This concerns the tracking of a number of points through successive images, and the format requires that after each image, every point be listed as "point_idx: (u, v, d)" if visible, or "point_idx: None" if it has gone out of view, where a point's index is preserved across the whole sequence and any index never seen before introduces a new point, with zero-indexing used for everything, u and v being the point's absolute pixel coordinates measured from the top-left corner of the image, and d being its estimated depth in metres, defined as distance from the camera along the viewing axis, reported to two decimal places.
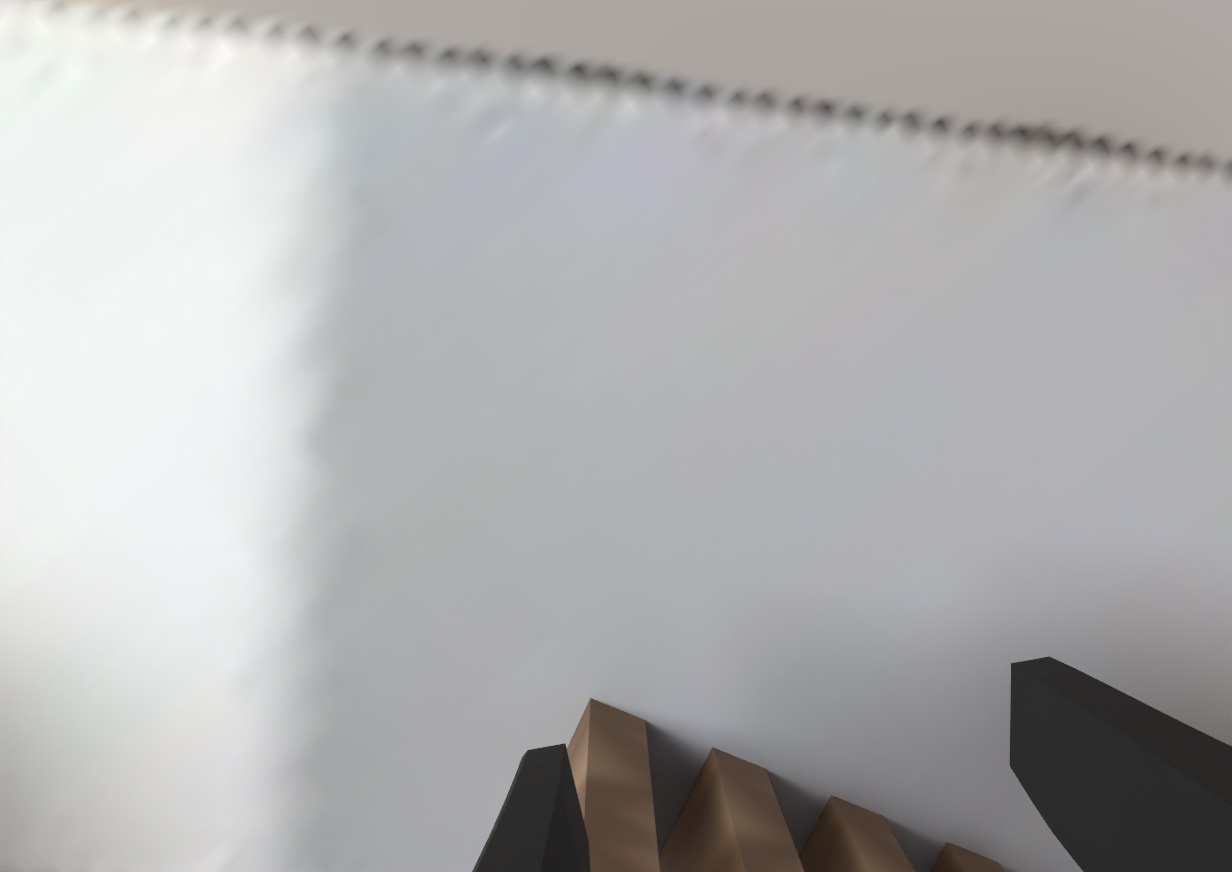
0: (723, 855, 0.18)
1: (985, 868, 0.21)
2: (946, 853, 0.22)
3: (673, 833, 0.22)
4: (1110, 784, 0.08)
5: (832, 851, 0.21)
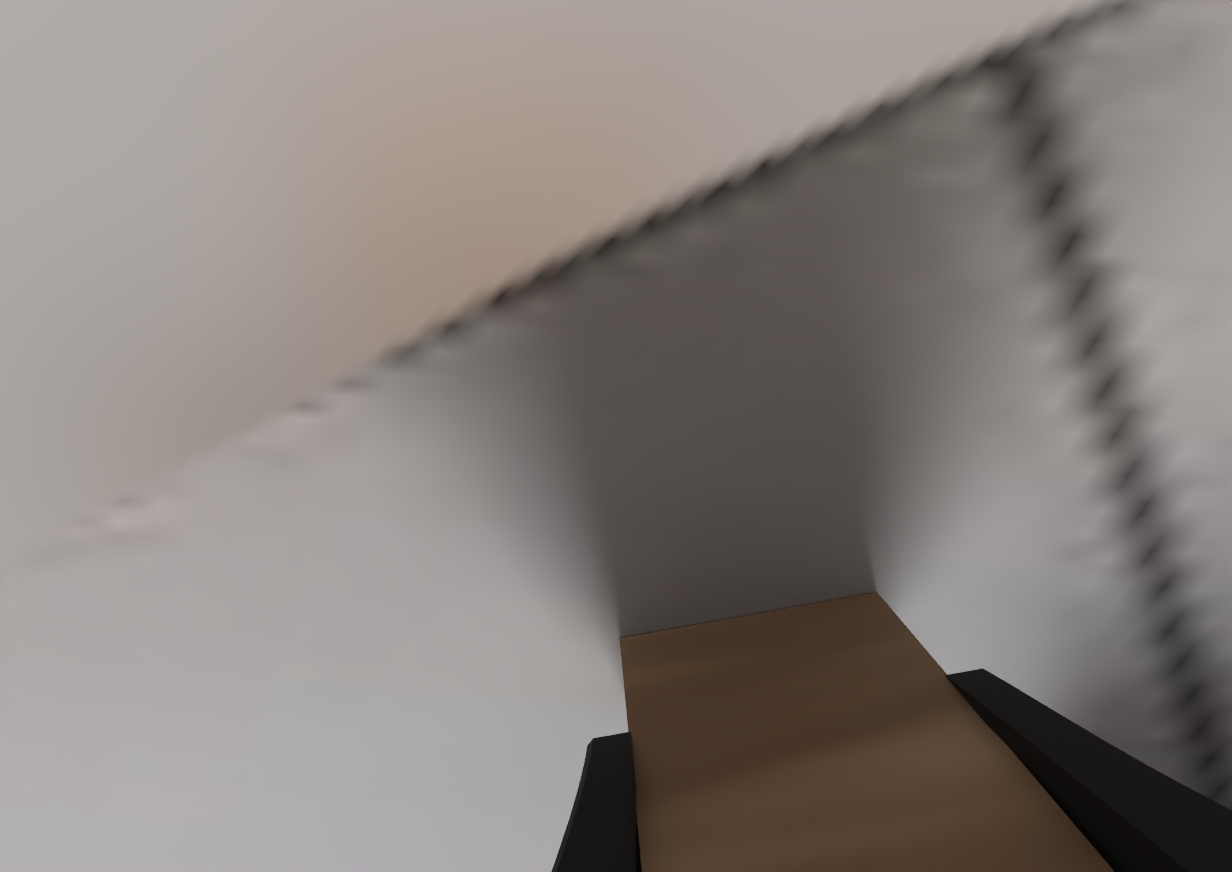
0: None
1: None
2: None
3: None
4: None
5: None
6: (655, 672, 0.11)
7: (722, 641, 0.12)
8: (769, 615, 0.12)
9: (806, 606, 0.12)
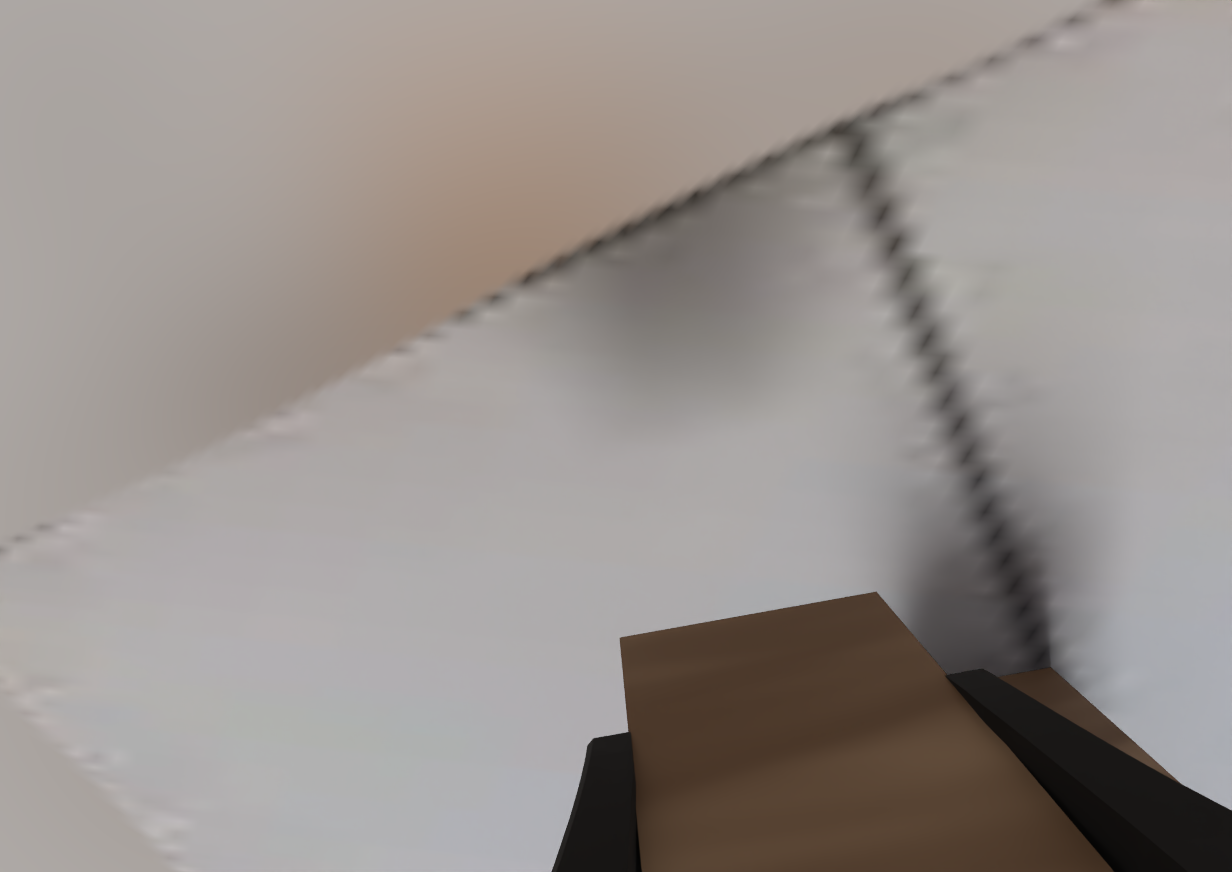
0: None
1: None
2: None
3: None
4: None
5: None
6: (655, 671, 0.11)
7: (722, 641, 0.12)
8: (769, 615, 0.12)
9: (806, 606, 0.12)
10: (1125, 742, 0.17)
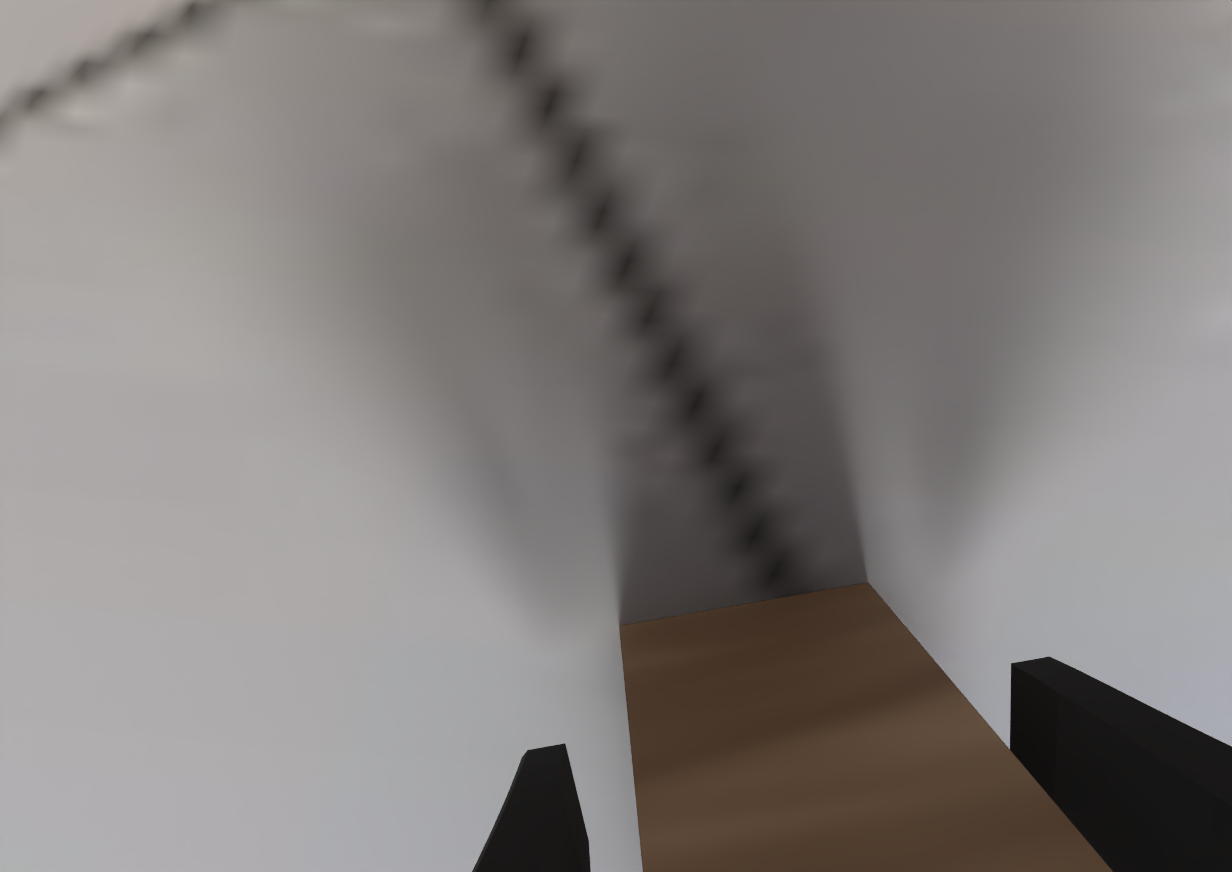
0: None
1: None
2: None
3: None
4: (1110, 784, 0.08)
5: None
6: (653, 657, 0.11)
7: (718, 629, 0.12)
8: (764, 604, 0.12)
9: (800, 596, 0.13)
10: None
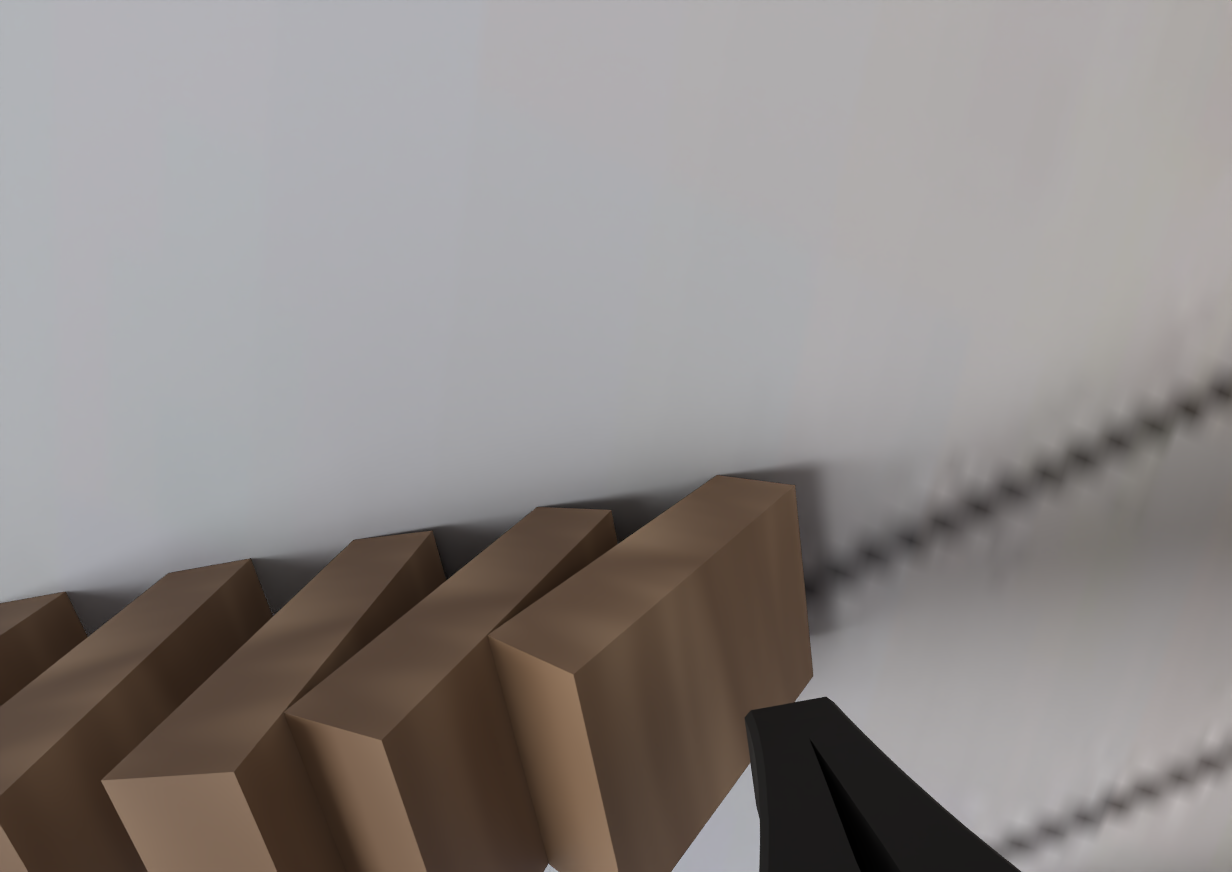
0: None
1: (562, 521, 0.14)
2: None
3: None
4: None
5: None
6: (771, 531, 0.13)
7: (788, 575, 0.14)
8: (803, 602, 0.15)
9: (807, 628, 0.15)
10: None
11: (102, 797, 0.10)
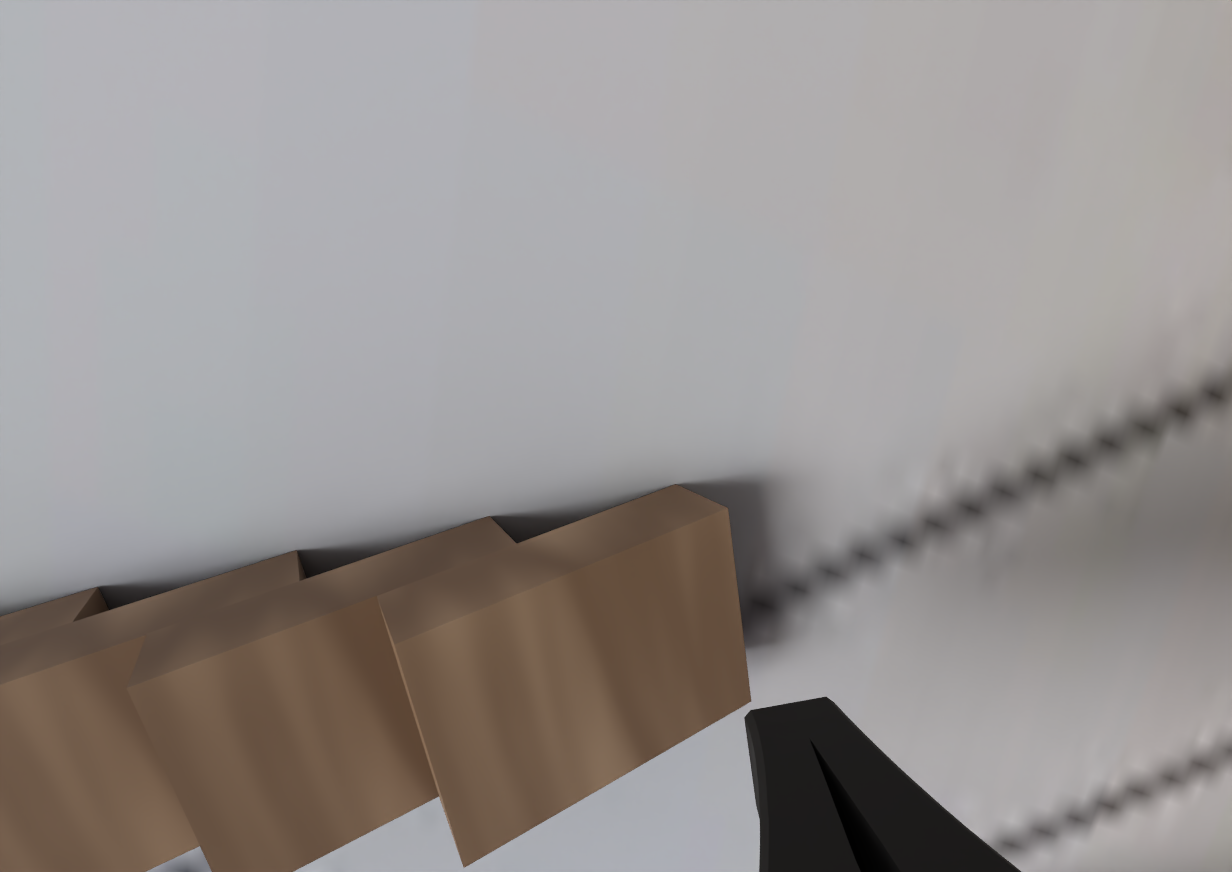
0: None
1: (475, 540, 0.14)
2: None
3: None
4: None
5: None
6: (686, 550, 0.13)
7: (713, 596, 0.14)
8: (737, 627, 0.14)
9: (743, 652, 0.15)
10: (426, 794, 0.14)
11: None
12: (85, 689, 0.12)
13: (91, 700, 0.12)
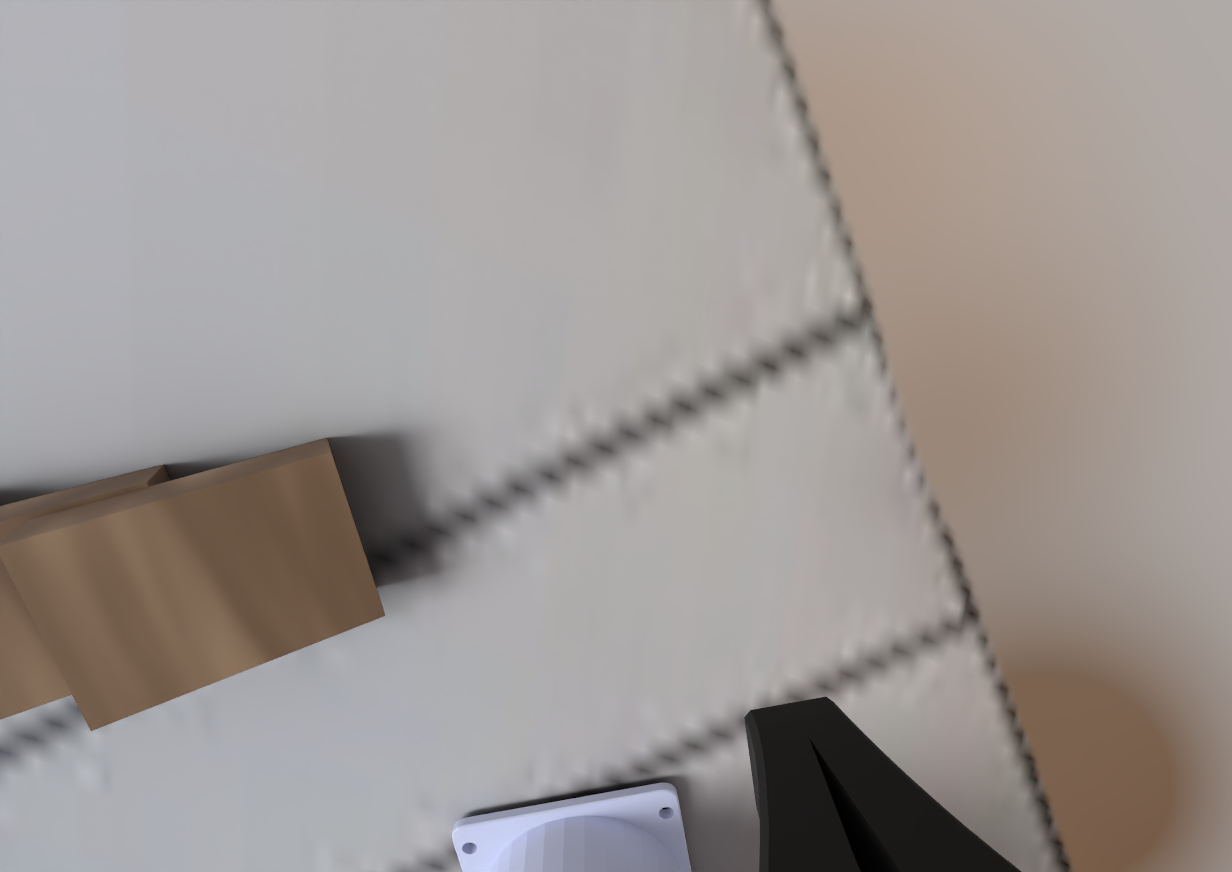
0: None
1: (126, 481, 0.17)
2: (159, 475, 0.18)
3: None
4: None
5: None
6: (290, 485, 0.16)
7: (325, 524, 0.17)
8: (358, 551, 0.17)
9: (368, 573, 0.18)
10: None
11: None
12: None
13: None
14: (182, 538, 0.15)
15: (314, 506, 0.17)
